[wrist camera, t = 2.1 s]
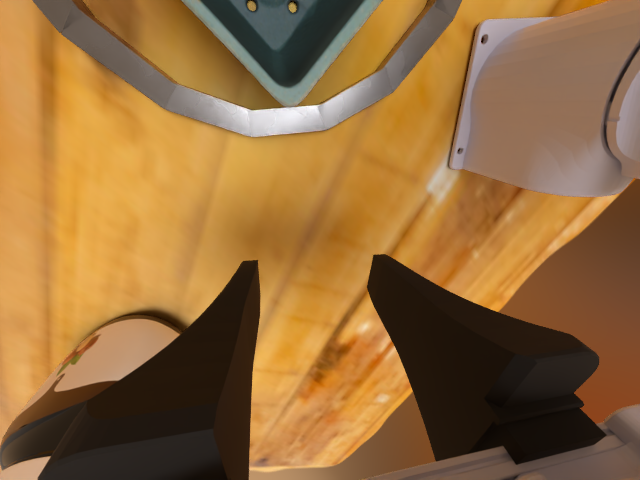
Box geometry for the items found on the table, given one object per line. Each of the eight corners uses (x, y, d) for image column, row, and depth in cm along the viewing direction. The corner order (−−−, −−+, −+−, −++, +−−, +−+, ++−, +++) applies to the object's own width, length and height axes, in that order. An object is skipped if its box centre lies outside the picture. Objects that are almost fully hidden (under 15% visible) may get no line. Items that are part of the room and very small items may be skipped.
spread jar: (162, 294, 21) (66, 459, 11) (232, 359, 27) (210, 506, 17) (46, 346, 22) (-146, 550, 12) (139, 399, 28) (65, 565, 18)
